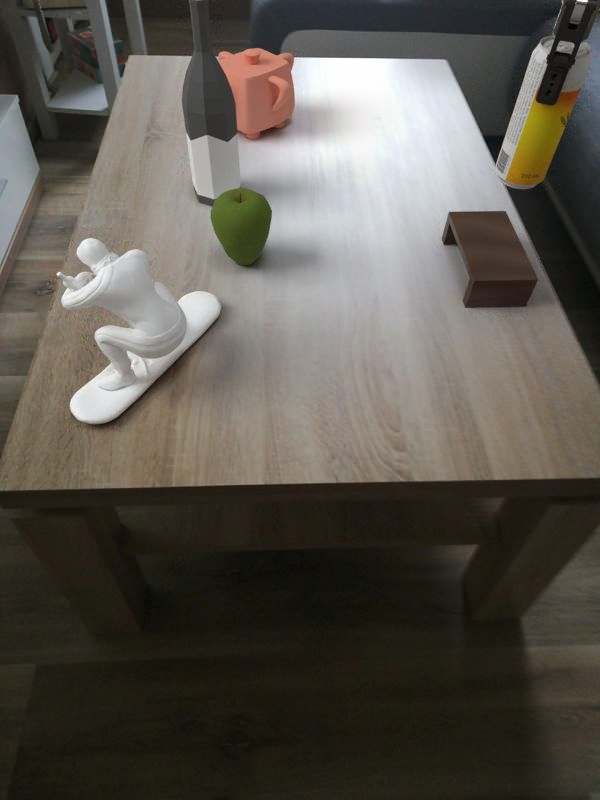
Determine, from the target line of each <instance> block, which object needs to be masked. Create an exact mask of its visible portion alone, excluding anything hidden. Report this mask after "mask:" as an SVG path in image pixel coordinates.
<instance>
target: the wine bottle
mask: <svg viewBox="0 0 600 800" xmlns="http://www.w3.org/2000/svg"><path fill="white" fill-rule="evenodd" d="M188 3H189V11H190V22H191V31H192V39H193V40H192V41H193V52H192V54H191V55H192V56H191V58H190V61H189V64H188V66H187V68H186V71H185V75H184V78H183V84H182V91H181V93H182V94H181V106H182V107H181V108H182V113H183V120H184V127H185V136H186V143H187V150H188V158H189V164H190V171H191V179H192V185H193V191H194V195H195V196H196V198H197V200H198V202H199V203H200V204H203V205H206V206H207V205H208V206H210V207H213V204H214V201H215V200H216V199H217V198H218V196H220V195H221V194H222V193H224V192H226V191H228V190H231V189H237V188H242V184H241V169H240V154H239V153H240V152H239V138H238V137H239V136H238V135H239V134H238V130H237V119H236V103H235V100H234V96H233V92H232V89H231V86H230V84H229V81H228V79H227V76H226V74H225V72H224V71H223V69H222V67H221V65H220V63H219V62H218V61H219V59H218V57H217V56H216V55H215V53H214V50H213V44H212V33H211V24H210V23H211V21H210V11H209V0H188Z"/></svg>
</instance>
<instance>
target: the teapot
mask: <svg viewBox="0 0 600 800" xmlns="http://www.w3.org/2000/svg"><path fill="white" fill-rule="evenodd" d="M217 60H218V62H219V63H220V65H221V67H222V69H223V71H224V72H225V74H226V76H227V79H228V81H229V84H230V86H231V89H232V92H233V96H234V100H235V103H236V119H237V131H239V132H241V133H243V134H245V135H246V137H247V138H248V139H249V140H258V139H259V138H260V137H261V132H263V131H266V130H269V129H271V128H274V129H281V128H283V127H285V123H284V122H285V121H287V120H288V119H290V118H291V117H292V116H293V113H294V110H295V105H296V104H295V103H296V97H295V96H296V95H295V94H296V93H295V85H294V80H293V79H294V78H293V74H292V70H293V67H294V63H295V57H294V54H292V53H291V52H283V53H280V54H278V55H276V54H275V53H272V52H270V51H267V50H265V49H263V48H260V47H255V48H254V47H253V48H247V49H245V50H243V51H239V52H237V53H231V52H229V51H226V50H225V51H220V52H219V53H218V56H217Z"/></svg>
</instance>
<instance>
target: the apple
mask: <svg viewBox="0 0 600 800" xmlns="http://www.w3.org/2000/svg"><path fill="white" fill-rule="evenodd" d="M272 217H273V210H272V207H271V206H270V203H269V201H268V200H267V198H266V196H265V195H263V194H262V193H259V192H257V191H256V190H253V189H251V188H245V187H241V188H237V189H231V190H228V191H226V192H224V193H222V194H221V195H220V196H218V198H217V199H216V200H215V201H214V204H213V206H211V210H210V217H209V218H210V221H211V224H212V227H213V230H214V233H215V236H216V238H217V240H218V241H219V243H220V245H221V247H222V248H223V251H224V253H225V254H226V256H227V257H228V258H230V259H231V260H232V261H233V262H234V263H236V264H237V265H240V266H250V265H252V264H253V263H254V262H255V261H256V260H257V259H258V258H259V257H260V256H261V255H262V253H263V251H264V249H265V246H266V242H267V240H268V238H269V235H270V229H271V224H272V219H273V218H272Z"/></svg>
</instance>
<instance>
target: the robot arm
mask: <svg viewBox="0 0 600 800" xmlns="http://www.w3.org/2000/svg"><path fill="white" fill-rule="evenodd" d="M599 11H600V0H561V6H560V9H559V13H558V15H557V18H556V20H555V23H554V26H553V29H552V36H553V37H554V38H555V39H554V42H553V45H552V48H551V51H550V53H549V54H548V55H547V58H546V60H547V62H546V64H547V67H546V70H545V73H544V76H543V79H542V81H541V84H540V87H539V90H538V93H537V96H536V101H537V102H538V103H541V104H546V105H550V106H553V105H555V104H556V103H557V100H558V98H559V95H560V92H561V90H562V87H563V85H564V82H565V79H566V77H567V74H568V72H569V69H571V67H572V65H574V64H575V61H576V59H575V57H576V54H577V52H578V49H579V47H580V44H582V43H584V42H586V43H587V41H588V39H589V37H590V34H591V32H592V29H593V26H594V24H595V21H596V20H597V16H598V13H599ZM560 41H565V42H570V43H573V44H574V48H573V51H572V54H570V53H565V52H560V51H556V50H557V47H558V45H559V42H560Z"/></svg>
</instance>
